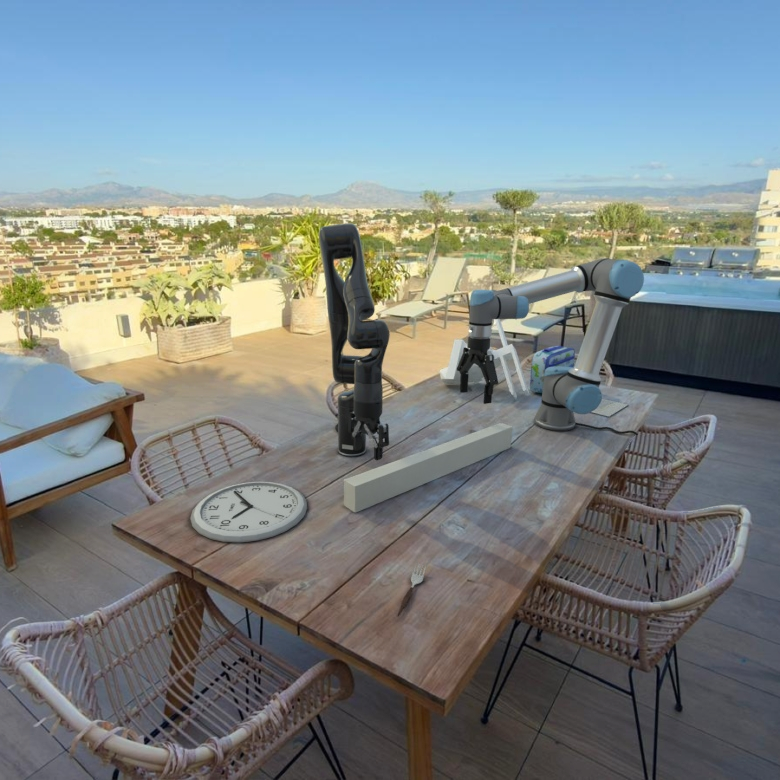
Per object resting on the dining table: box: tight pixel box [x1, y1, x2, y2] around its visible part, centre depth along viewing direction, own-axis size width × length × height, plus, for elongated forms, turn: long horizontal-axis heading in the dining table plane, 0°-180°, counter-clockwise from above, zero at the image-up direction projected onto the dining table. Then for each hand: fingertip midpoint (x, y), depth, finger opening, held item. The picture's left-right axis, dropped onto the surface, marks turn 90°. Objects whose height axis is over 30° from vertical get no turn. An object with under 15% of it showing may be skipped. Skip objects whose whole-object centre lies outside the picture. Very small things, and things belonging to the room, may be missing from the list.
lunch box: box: [529, 345, 576, 394], centre depth 244 cm, size 26×11×21 cm, turn 135°
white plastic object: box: [438, 319, 531, 400], centre depth 245 cm, size 37×45×31 cm
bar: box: [343, 422, 513, 514], centre depth 161 cm, size 68×5×8 cm, turn 131°
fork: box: [397, 562, 427, 617], centre depth 109 cm, size 3×16×2 cm, turn 160°
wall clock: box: [190, 481, 308, 544], centre depth 139 cm, size 30×2×30 cm
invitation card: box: [590, 398, 629, 418], centre depth 226 cm, size 21×1×15 cm
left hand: (367, 454), depth 141 cm, fingers open, 8 cm apart
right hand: (475, 397), depth 181 cm, fingers open, 13 cm apart
